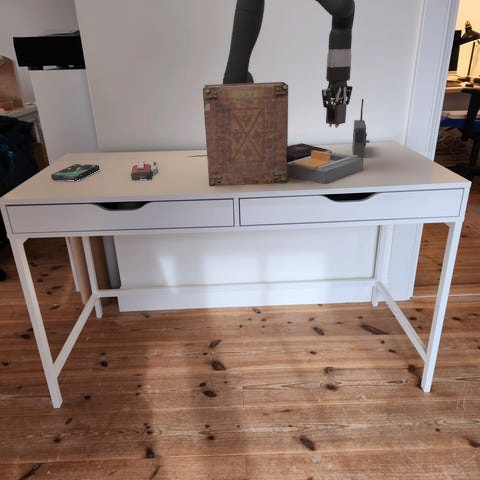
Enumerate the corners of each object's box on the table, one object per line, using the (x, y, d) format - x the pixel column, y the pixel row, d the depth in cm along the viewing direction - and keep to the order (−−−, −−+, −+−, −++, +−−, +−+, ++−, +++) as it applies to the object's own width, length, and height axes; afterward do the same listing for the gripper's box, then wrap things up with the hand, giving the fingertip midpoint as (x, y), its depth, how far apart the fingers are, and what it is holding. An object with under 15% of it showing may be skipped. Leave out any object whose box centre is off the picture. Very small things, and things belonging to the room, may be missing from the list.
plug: (325, 127, 148) (326, 101, 144) (333, 125, 150) (335, 99, 147) (336, 128, 145) (338, 102, 141) (345, 126, 147) (346, 100, 144)
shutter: (292, 165, 145) (292, 155, 143) (310, 159, 151) (311, 149, 149) (314, 169, 139) (314, 159, 137) (332, 163, 145) (333, 153, 143)
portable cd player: (300, 152, 180) (300, 143, 178) (330, 160, 167) (330, 150, 165) (268, 159, 172) (268, 149, 170) (296, 168, 158) (297, 157, 157)
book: (208, 186, 141) (201, 87, 128) (209, 178, 149) (203, 84, 137) (287, 183, 141) (288, 84, 128) (284, 175, 149) (284, 81, 137)
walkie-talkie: (157, 180, 150) (158, 166, 168) (155, 168, 148) (156, 154, 166) (131, 182, 149) (134, 167, 167) (129, 170, 147) (133, 156, 165)
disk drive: (76, 171, 166) (51, 182, 153) (74, 163, 165) (50, 174, 152) (100, 172, 164) (77, 183, 151) (99, 164, 163) (76, 175, 150)
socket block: (285, 174, 149) (285, 160, 147) (325, 162, 163) (325, 149, 161) (323, 183, 138) (324, 169, 136) (362, 169, 152) (363, 155, 150)
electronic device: (351, 148, 182) (355, 98, 174) (368, 148, 181) (373, 97, 173) (352, 158, 167) (356, 103, 158) (371, 158, 165) (376, 103, 157)
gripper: (342, 63, 146) (339, 116, 153) (315, 66, 138) (313, 121, 145) (361, 63, 141) (357, 118, 148) (334, 66, 133) (331, 124, 140)
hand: (335, 119), depth 147 cm, fingers closed on plug, 4 cm apart
